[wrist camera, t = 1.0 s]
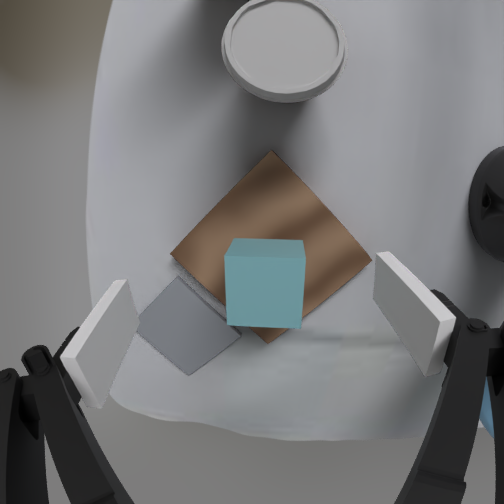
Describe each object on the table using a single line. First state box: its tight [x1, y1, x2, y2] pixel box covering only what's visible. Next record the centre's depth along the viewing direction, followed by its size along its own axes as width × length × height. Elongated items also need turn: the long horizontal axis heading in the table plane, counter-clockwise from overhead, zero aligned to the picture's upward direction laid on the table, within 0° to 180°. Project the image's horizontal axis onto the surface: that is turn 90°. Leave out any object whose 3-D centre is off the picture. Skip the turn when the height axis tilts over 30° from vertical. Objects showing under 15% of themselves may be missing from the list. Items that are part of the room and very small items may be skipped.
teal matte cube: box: [224, 238, 306, 329], centre depth 29 cm, size 6×7×5 cm
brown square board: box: [170, 150, 372, 344], centre depth 32 cm, size 16×16×10 cm
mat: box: [137, 276, 241, 375], centre depth 41 cm, size 11×11×1 cm
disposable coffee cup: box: [222, 0, 348, 103], centre depth 24 cm, size 10×10×12 cm
